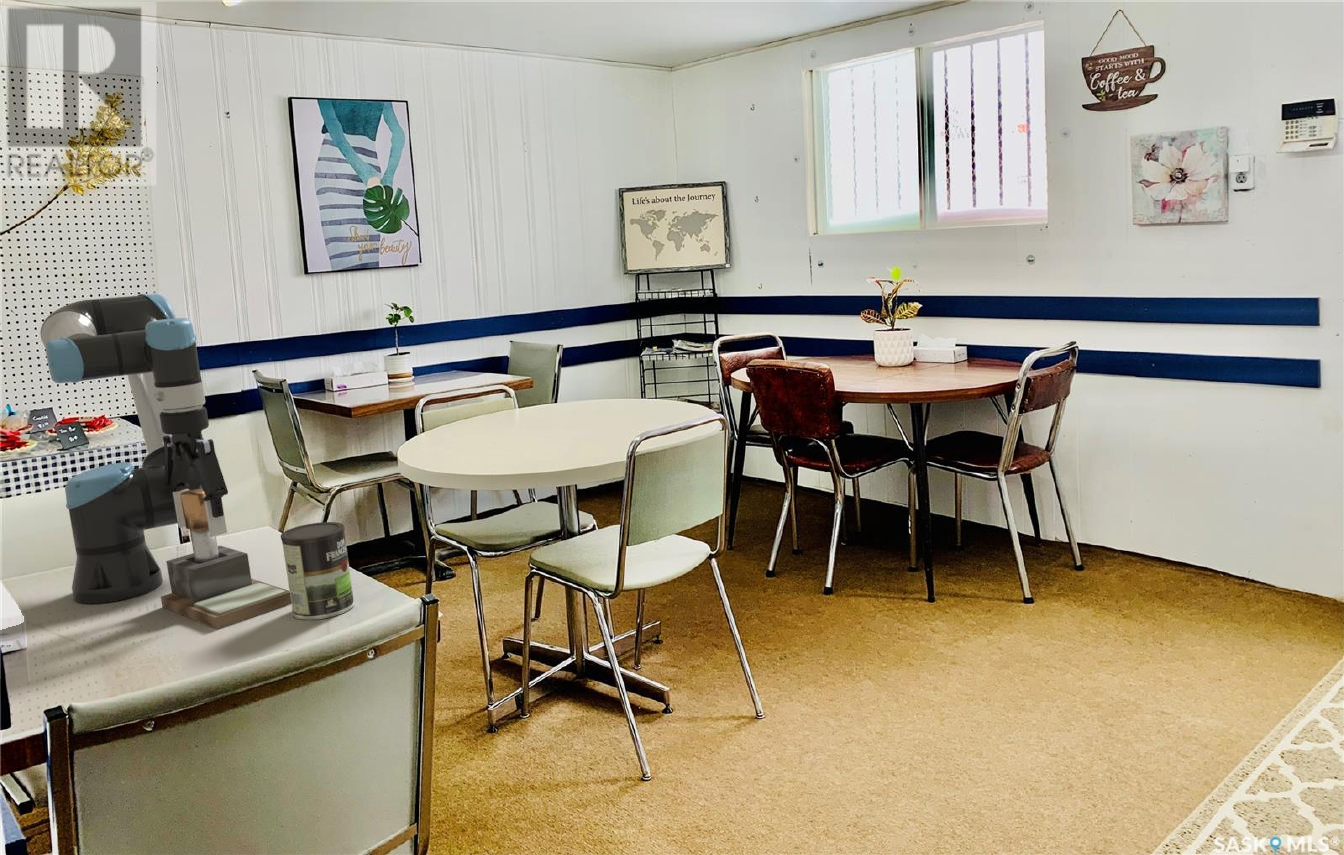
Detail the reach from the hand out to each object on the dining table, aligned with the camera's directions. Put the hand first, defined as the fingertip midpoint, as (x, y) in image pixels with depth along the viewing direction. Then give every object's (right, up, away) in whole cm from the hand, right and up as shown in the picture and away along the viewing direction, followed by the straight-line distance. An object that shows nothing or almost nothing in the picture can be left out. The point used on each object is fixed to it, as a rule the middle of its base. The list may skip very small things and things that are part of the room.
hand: (202, 530), depth 191 cm
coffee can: (+24, -13, -6) cm, 28 cm away
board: (+5, -13, -1) cm, 14 cm away
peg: (+1, -11, +2) cm, 11 cm away
